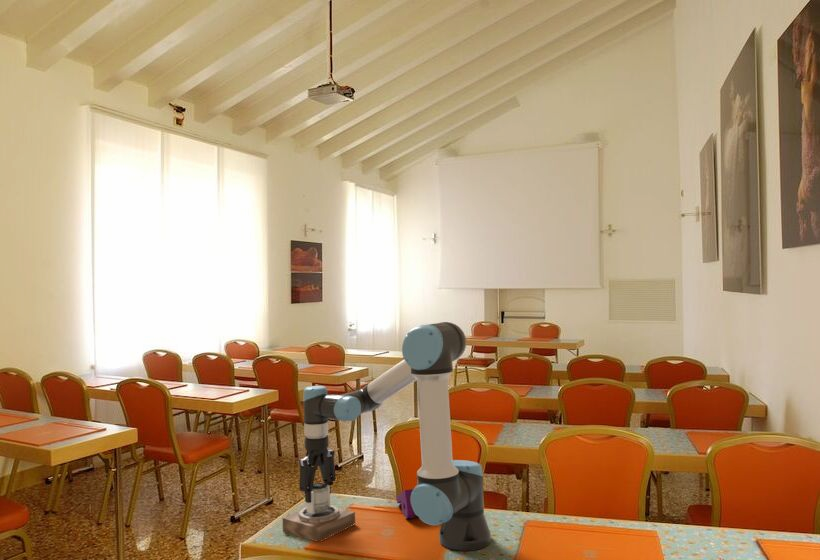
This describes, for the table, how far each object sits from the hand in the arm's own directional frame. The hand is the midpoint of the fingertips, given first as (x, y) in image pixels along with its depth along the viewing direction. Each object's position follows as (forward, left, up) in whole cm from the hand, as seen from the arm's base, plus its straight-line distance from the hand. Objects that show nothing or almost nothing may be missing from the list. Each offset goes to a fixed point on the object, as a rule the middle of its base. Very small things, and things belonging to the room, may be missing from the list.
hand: (318, 508), depth 199 cm
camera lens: (0, 0, -1) cm, 1 cm away
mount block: (0, 0, -6) cm, 6 cm away
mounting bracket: (-17, -28, -7) cm, 33 cm away
